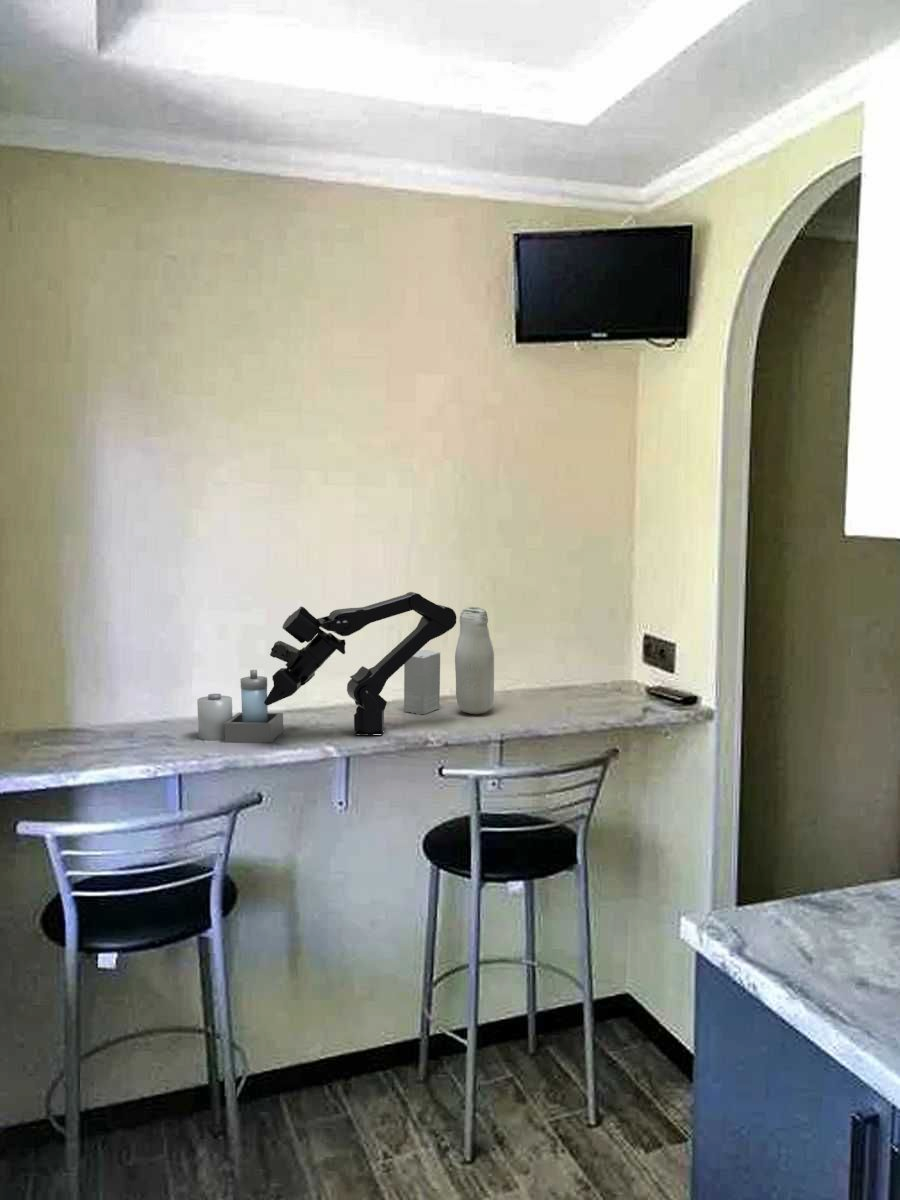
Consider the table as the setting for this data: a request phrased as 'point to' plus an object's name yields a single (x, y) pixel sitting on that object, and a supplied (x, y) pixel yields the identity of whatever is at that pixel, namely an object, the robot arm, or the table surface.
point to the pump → (254, 698)
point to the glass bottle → (474, 663)
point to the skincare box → (422, 682)
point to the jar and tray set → (233, 722)
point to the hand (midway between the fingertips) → (271, 699)
